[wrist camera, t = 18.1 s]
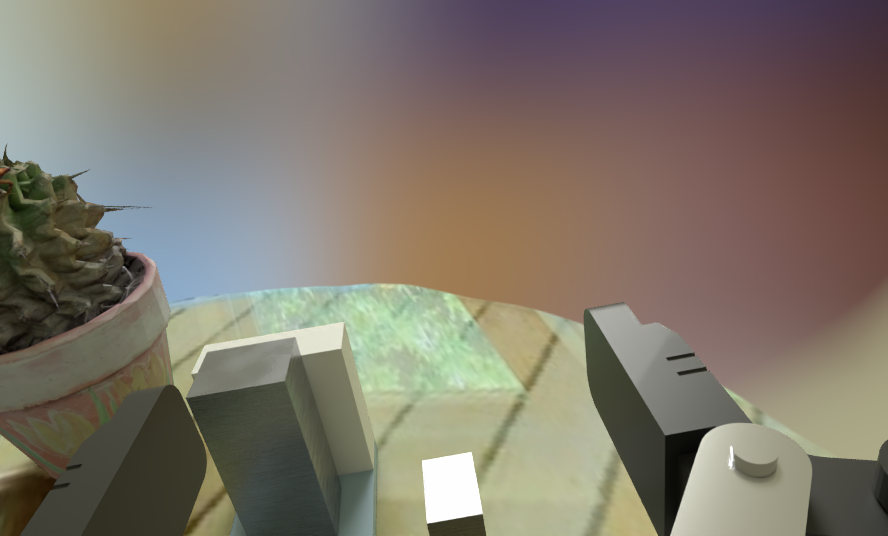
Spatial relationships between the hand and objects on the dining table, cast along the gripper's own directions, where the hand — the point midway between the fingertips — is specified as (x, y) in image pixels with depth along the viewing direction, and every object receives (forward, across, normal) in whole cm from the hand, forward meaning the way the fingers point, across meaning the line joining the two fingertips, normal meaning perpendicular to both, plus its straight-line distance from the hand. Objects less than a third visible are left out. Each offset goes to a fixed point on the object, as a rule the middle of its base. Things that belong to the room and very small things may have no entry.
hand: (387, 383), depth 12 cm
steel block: (+17, +10, +22) cm, 30 cm away
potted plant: (+30, +28, +22) cm, 47 cm away
